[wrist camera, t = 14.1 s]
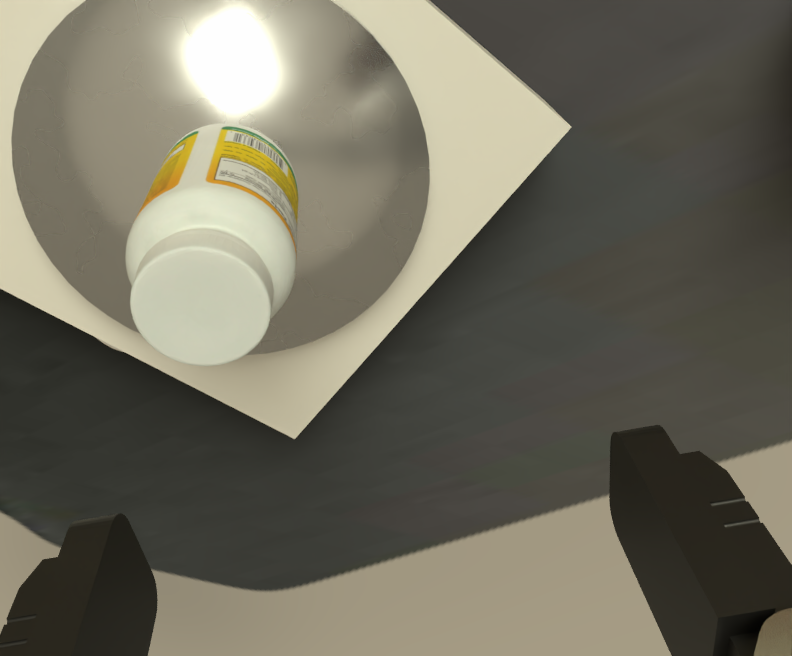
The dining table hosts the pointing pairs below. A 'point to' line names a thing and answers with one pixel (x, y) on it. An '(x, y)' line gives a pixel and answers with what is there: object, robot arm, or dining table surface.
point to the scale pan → (213, 104)
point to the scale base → (436, 245)
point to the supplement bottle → (214, 245)
